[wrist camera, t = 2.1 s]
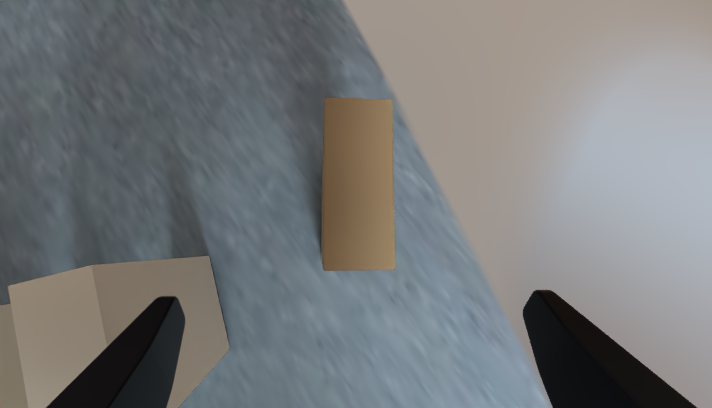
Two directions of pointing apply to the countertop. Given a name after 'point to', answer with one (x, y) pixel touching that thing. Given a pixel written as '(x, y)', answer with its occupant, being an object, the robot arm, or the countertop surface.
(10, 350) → the domino
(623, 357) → the robot arm
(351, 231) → the domino
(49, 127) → the countertop surface
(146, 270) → the domino
